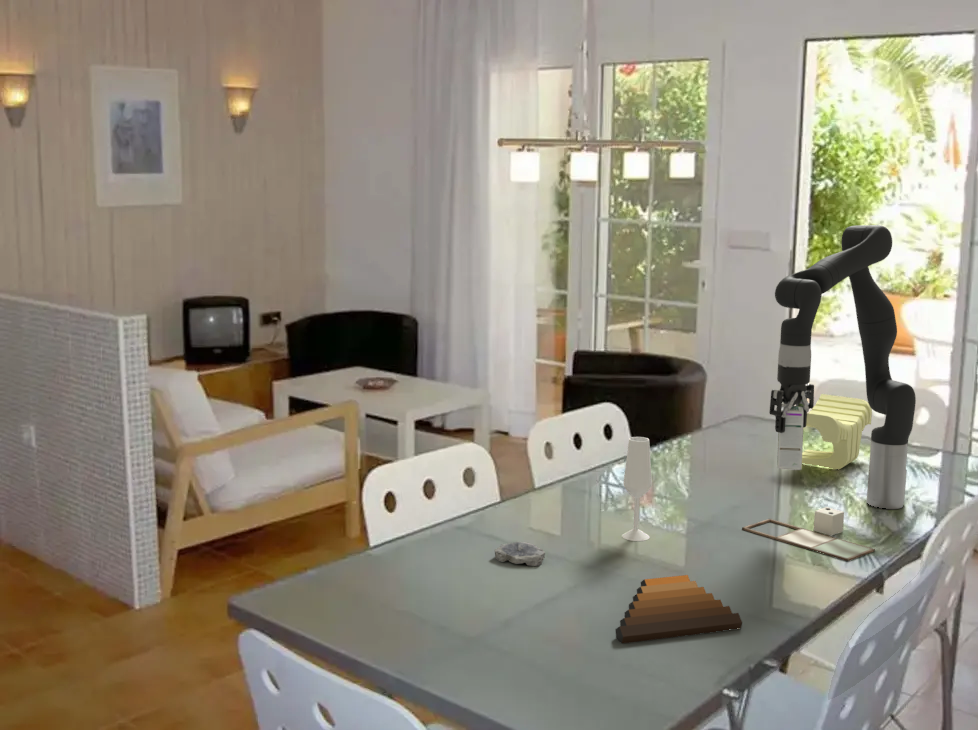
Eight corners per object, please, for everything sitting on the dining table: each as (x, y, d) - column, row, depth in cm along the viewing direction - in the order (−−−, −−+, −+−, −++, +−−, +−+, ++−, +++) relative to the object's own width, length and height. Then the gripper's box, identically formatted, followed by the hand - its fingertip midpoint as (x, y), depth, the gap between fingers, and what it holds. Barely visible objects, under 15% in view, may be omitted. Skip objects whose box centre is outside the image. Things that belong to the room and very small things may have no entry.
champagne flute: (653, 534, 280) (657, 437, 275) (644, 542, 274) (648, 443, 269) (626, 530, 282) (629, 434, 278) (617, 538, 276) (621, 440, 272)
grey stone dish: (489, 551, 258) (504, 530, 267) (489, 567, 260) (503, 545, 268) (538, 562, 255) (551, 540, 264) (537, 578, 256) (550, 555, 265)
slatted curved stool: (835, 478, 331) (839, 417, 328) (781, 469, 340) (785, 410, 337) (868, 457, 355) (872, 400, 352) (817, 449, 364) (821, 393, 361)
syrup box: (801, 470, 275) (805, 410, 273) (776, 468, 277) (779, 409, 274) (800, 464, 281) (804, 405, 278) (775, 462, 282) (778, 404, 280)
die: (825, 526, 287) (826, 506, 286) (842, 531, 284) (844, 511, 283) (813, 530, 284) (814, 510, 283) (831, 535, 280) (832, 515, 279)
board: (769, 520, 291) (769, 518, 291) (874, 551, 270) (874, 548, 269) (742, 529, 284) (742, 527, 284) (848, 561, 262) (848, 559, 262)
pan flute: (622, 647, 216) (741, 632, 224) (623, 630, 216) (742, 616, 223) (573, 598, 240) (683, 587, 247) (574, 583, 239) (683, 572, 246)
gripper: (799, 357, 281) (795, 422, 284) (762, 363, 272) (759, 431, 275) (825, 361, 276) (821, 428, 279) (789, 368, 267) (785, 437, 270)
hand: (790, 429), depth 277 cm, fingers closed on syrup box, 8 cm apart
